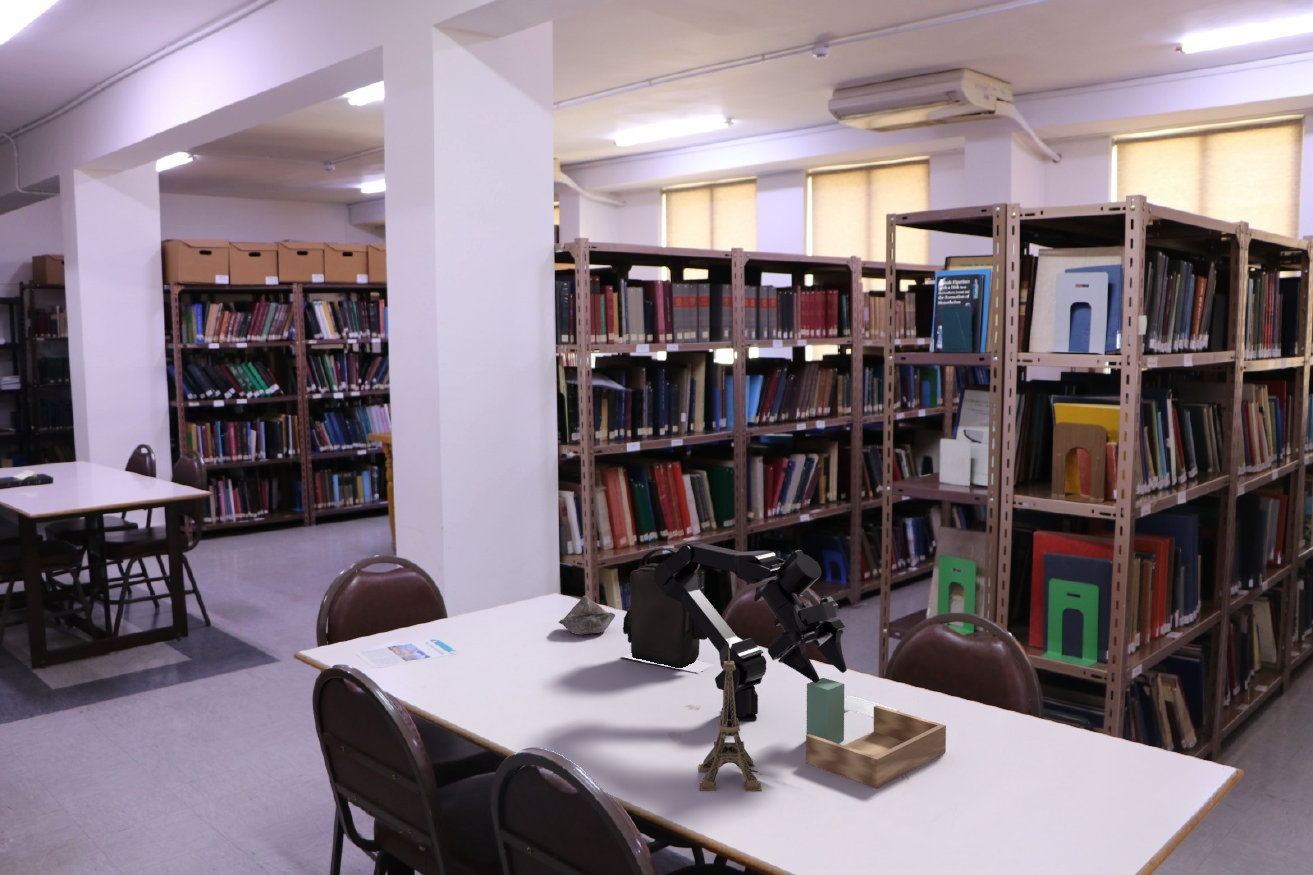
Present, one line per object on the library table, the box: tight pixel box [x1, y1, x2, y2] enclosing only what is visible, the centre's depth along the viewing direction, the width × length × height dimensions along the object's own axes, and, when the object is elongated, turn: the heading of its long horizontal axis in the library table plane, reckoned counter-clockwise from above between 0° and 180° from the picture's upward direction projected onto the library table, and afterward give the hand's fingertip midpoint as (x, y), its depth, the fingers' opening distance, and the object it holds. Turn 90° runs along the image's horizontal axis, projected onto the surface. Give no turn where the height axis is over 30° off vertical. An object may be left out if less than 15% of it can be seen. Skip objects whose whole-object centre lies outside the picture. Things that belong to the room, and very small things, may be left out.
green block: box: [806, 677, 845, 744], centre depth 189 cm, size 5×5×12 cm
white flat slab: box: [844, 695, 900, 719], centre depth 207 cm, size 2×8×12 cm
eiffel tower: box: [698, 651, 763, 792], centre depth 174 cm, size 11×11×25 cm
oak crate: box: [805, 705, 947, 789], centre depth 181 cm, size 15×22×6 cm
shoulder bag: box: [622, 546, 708, 668], centre depth 242 cm, size 23×9×28 cm, turn 57°
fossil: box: [558, 595, 616, 635], centre depth 269 cm, size 15×14×10 cm
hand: (831, 676), depth 188 cm, fingers open, 9 cm apart
